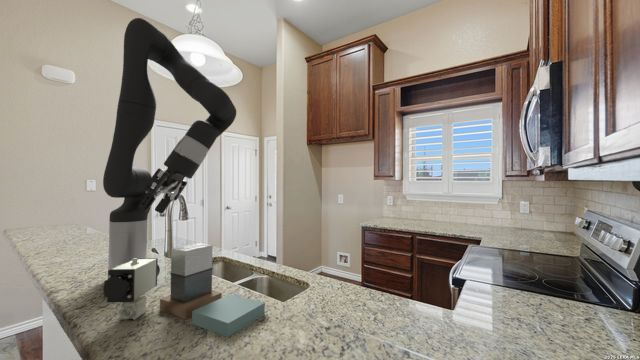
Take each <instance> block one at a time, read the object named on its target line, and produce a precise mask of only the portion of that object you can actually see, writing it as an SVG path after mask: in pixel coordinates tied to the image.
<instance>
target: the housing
mask: <svg viewBox="0 0 640 360" xmlns="http://www.w3.org/2000/svg"><path fill="white" fill-rule="evenodd" d="M170 254H171V255H170V256H171V257H170V261H171V262H170V272H169V273H170V274H169V275H170V292H169V293H170V299H172V300H175V301H178V302H181V303H187V302H189V301H192V300H194V299H197V298H199V297H202V296H204V295H207V294H209V293H212V290H213V270H214V268H213V244H207V243H200V242H197V243H193V244H188V245H183V246H178V247H172V248H171V253H170Z"/></svg>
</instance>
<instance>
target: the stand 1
mask: <svg viewBox="0 0 640 360" xmlns="http://www.w3.org/2000/svg"><path fill="white" fill-rule="evenodd" d="M221 298H222V292H220V291H216V290H213V289H212V293H209V294H207V295H204V296H202V297H199V298H197V299H194V300H192V301H189V302H187V303H181V302H178V301H175V300H172V299H170V295H167V296H164V297H161V298H160V299H159V311H161V312H164V313H166V314H169V315H172V316H174V317H176V318H180V319H183V320H185V321H187V320H189V319H192V311H194V310H196V309H198V308H200V307H203V306H205V305H207V304H209V303H212V302H214V301H216V300H218V299H221Z"/></svg>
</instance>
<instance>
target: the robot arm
mask: <svg viewBox="0 0 640 360" xmlns="http://www.w3.org/2000/svg"><path fill="white" fill-rule="evenodd" d="M124 31H125V32H124V36H123V56H122V57H123V65H122V76H121V85H120V90H119V96H118V104H117V109H116V118H115V126H114V132H113V135H112V142H111V147H110V150H109V154H108V157H107V161H106V166H105V169H104V173H103V179H102V181H103V182H102V186H103V187H102V188H103V190H104V192H105V193H106V194H107V196H108V197H111V198H115V199H117V198H118V199H120V198H121V199H122V198H124V199H123V203H122V204H121V205H119V206H118V207H117V208H116V209H114V210H111V211H110V213H109V219H108V220H109V222H108V223H109V225H108V255H107V257H108V258H107V263H108V265H107V271H108V270H110V269H113V268H115V267H116V266H118V265H119V266H120V265H121V264H125V263H127V262H130V261H132V259H134V258H138V259H148V258H147V255H148V254H147V253H148V250H147V249H148V217H149V216H148V215H149V212H150V210H151V209H152V206H153V204H154V203H155V201H156V200H157V198H158V197H159V196H160V195H161V194H163V197H162V198H161V200H160V201H159V202H158V204H157V205H156V207H155V208H154V211H155V212H157V213H159V214H164V213H165V212H166V210H167V208H168V207H169V205H170V204H171V203H173V202H174V201H177V200H178V199H179V197H180V196H181V194H182V192H183V191H184V189H185V188H186V186H187V185H188V181H185V180H184V179H185V178H187V179H189V180H190V179H193V177H194V175H195V173H196V172H197V171H198V169H199V168H200V166H201V165H202V163H203V161H204V160H205V159H206V156H207V155H208V152H209V151H210V149H211V148H212V146H213V145H214V143H215V142H216V140H217V138H218V137H219V136H221V135H222V134H223V133H224V132H225V131H226V130H228V128H229V127H231V125H232V124H233V123H234V121H235V119H236V117H237V109H236V107H235V104H234V103H233V102H232V100H231V97H230V96H229V94H227V92H225V90H223V89H222V87H219V85H216V84H215V83H213V82H212V81H210V79H208V78H207V77H206V76H205V74H203V73H202V72H201V71H199V70H198V68H196V67H195V66H194V65H192V64H191V62H189V61H188V60H187V59H186V58H185V57H184V56H183V55H182V54H181V53H180V51H179V50H178V49H177V48H176V46H175V45H174V44H173V42H172V41H171V40H170V38H168V36H167V35H166V34H165V32H162V31H161V30H160V29H158V28H157V27H156V26H155V25H153V24H152V23H150V22H149V21H147V20H146V19H144V18H141V17H137V18H136V17H135V18H133V19H132V20H130V21H129V22H128V23H127V26H126V27H125V30H124ZM149 60H150V61H152V62H155V63H156V64H158V65H159V66H161V67H162V68H164V69H166V70H167V71H168V72H169V73H170V74H171V75H172V78H173V79H174V81H175V82H176V84H178V85H177V86H179V87H180V88H181V89H182V90H183V91H184V92H186V94H187V95H188V96H190V98H192V99H193V100H194V101H196V102H198V103H199V104H200V105H201V106H202V107H203V108H204V109H205V110H206V112H207V113H208V114H209V115H208V117H206V119H205V120H202V119H196V120H195V121H193V123H192V124H191V125H190V127H189V129H188V130H186V133H185V134H184V135H183V136H182V138H180V140H179V141H178V142H177V144H176V145H175V147H174V148H173V150H172V151H171V153H170V154H169V155H168V157H167V158H166V159H165V160H164V162H163V166H165V167H166V169H165V170H164V169H162V168H160V167H159V168H157V169H156V171H155V172H154V174H153V175H151V173H150V172H149V170H148V169H146V168H144V167H140V166H134V159H135V155H136V151H137V149H138V148H139V146H140V144H142V142H143V141H144V140H145V139H146V137H147V136H148V135H149V133H150V132H151V131H152V129H153V127H154V124H155V118H156V111H157V100H156V96H155V93H154V90H153V87H152V85H151V84H152V83H151V80H150V78H149V72H148V71H149V70H148V62H149Z"/></svg>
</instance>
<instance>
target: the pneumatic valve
mask: <svg viewBox="0 0 640 360" xmlns="http://www.w3.org/2000/svg"><path fill="white" fill-rule="evenodd" d="M158 260H159V259H158V258H155V257H154V258H147V259H138V258H134V259H132V261H130V262H127V263H125V264H121V265H120V266H119V265H118V266H116V267H115V268H113V269H110V270H108V269H107V279H105V280H104V282H103V283H104V284H103V287H102V290H103V291H102V292H103V297H104V298H106V302H107V303H109V304H110V303H120V305H119V307H120V308H121V309H120V311H119V320H120V321H124V320H131V319H132V320H133V321H135V320H137V319H139V318H140V317H141V316H143V315H144V314H145V313H146V312H147V308H146V307H147V306H146V305H147V296H144V295H146V293H149V291H151V290H153V289H154V288H156V287H158V276H159V275H160V272H161V268H160V266H159V263H158V262H159V261H158ZM142 296H143V297H142Z"/></svg>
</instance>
